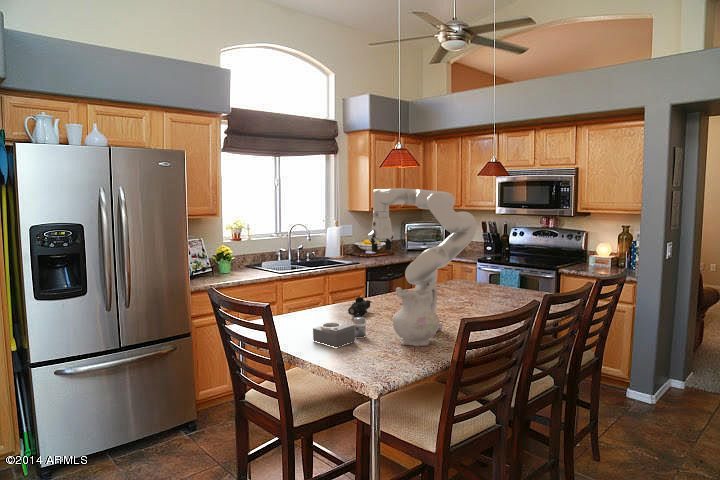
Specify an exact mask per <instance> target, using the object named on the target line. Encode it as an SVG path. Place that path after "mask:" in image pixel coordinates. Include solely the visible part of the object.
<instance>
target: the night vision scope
mask: <svg viewBox="0 0 720 480" xmlns="http://www.w3.org/2000/svg"><path fill="white" fill-rule="evenodd" d="M371 303H372V301H370V300H369V299H368V300H364V298H363V297H361V296H359V297H357V298H356V299H355V302H353V303H352V304H351V306H350V307H349V308H348V309H347V312H348V314H349V315H351V316H353V315H354V316H356V315H360V317H361V316H362V317H364V316H366V314H367V313H368V310H369V308H371ZM358 313H359V314H358Z"/></svg>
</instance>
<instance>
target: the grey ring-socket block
mask: <svg viewBox="0 0 720 480" xmlns="http://www.w3.org/2000/svg"><path fill="white" fill-rule="evenodd" d="M313 340H314V341H317V342H320V343H324V344H327V345H330V346H334V347H339V346H342V345H344V344H347V343H351V342H354V341H355V342H356V338H355V325H353V324H352V323H345V324H342V323H340V322H337V321H336V322H333V321H331V322H330V321H329V322H324V323H322V324H321V325H320V326H317V327H313V328H312V341H313ZM355 342H354V343H355ZM351 344H352V343H351Z"/></svg>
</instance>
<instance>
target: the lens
mask: <svg viewBox="0 0 720 480" xmlns="http://www.w3.org/2000/svg"><path fill="white" fill-rule="evenodd" d="M352 325H355V337H364V336H366V337H367V331H366V330H367V328H366V327H367V321H366V317H364V316H362V317H361V316H358V317H354V318H353V324H352ZM364 338H365V337H364Z"/></svg>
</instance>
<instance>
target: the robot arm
mask: <svg viewBox="0 0 720 480" xmlns="http://www.w3.org/2000/svg"><path fill="white" fill-rule="evenodd" d="M455 204H456V198H455V196H454V195H453V194H452V193H450V192H448V191H442V190H441V191H440V190H430V189H429V190H428V189H415V188H413V189H412V188H402V187H401V188H400V187H398V188H397V187H396V188H387V189H386V188H378V189H377V188H376V189H373V191H372V206H373V207H372V209H373V210H372V211H373V212H372V217H373V218H372V223H371V232H370V233H368V235H367V236H368V241H369V242H370V244H371V252H372V253H378V251H379V250H378V241H379V240H385V241H384V243H385V250H386V251H391V250H392V242H393V239H394V235H395V231H393V229H392V228H393V227H392V220H391V217H390V206H393V205H394V206H396V205H406V206H407V205H408V206H415V207H417V208H418V209H422V210H429V212H430V213H431V214H432V215H433V216H434V218H435V219H436V220H437V221H438V222H439V224H440V225H441V227H443V229H444V230H446V231H447V232H449V233H451V234H449V235H448V236H447V237H446V238H445V239H444V240H443V241H442V242H440V243H439V245H437V246H434V247H430V248H427V249H425V250H423V251H422V252H421V253H420V254H418V256H417V257H416V258H415V259H414V260H412V262H411V263H410V264H408V265H407V267H406V269H405V271H404V275H405V276H404V277H405V279H406V281H407V283H409V284H410V285H413V286H415V287H414V291H417V290H425V289H426V288H427V283H428V282H433V284H434V285H435V287H436V288H437V281H438V274H439V273H438V270H439V269H441V268H444V267H446V266H448V265H449V264H450V262H452V261H453V260H454V259H455V258H456V257H457V256H458V255H459V254H460V253H461V252H462V251H463V250H465V248H467V246H469V244H470V243H471V242H472V241H473V239H474V237H475V236H476V232H477V221H476V218H475V217H474V215H473V214H472V213H470V212H468V211H456V210H454V207H455ZM431 293H432V291H431ZM432 298H433V297H431V300H430V303H429V306H431V302H432ZM434 312H435V313H436V314H437V304H436V305H435V308H434ZM442 329H443V323H439V328H438V330H437V332H439V330H442Z"/></svg>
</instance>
